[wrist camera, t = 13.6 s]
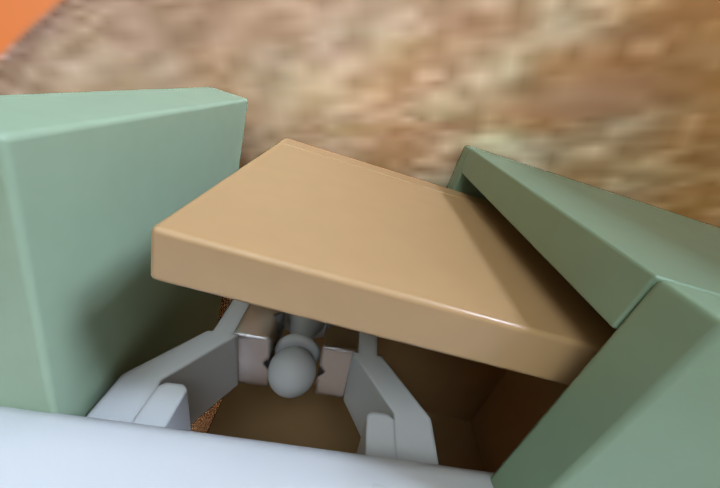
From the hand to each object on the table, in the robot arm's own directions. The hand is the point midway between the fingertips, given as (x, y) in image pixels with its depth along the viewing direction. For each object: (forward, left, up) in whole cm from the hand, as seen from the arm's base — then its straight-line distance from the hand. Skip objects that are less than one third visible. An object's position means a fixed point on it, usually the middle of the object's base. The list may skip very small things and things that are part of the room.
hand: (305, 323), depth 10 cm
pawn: (0, 0, -2) cm, 2 cm away
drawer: (0, 0, -3) cm, 3 cm away
